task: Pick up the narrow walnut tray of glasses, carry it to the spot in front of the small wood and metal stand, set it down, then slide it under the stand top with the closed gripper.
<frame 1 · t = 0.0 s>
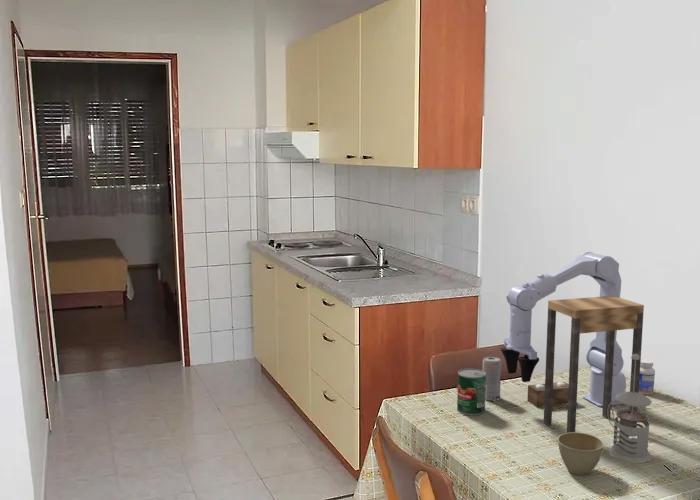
hand: (518, 377, 192), 10 cm above the table, tool pointing down, fingers open, 7 cm apart
pill bottle: (643, 392, 209), on the table
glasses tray: (550, 402, 201), on the table
flower pot: (579, 471, 158), on the table
canned tomato: (471, 410, 195), on the table
french press: (626, 452, 167), on the table
wood and metal stand: (589, 428, 181), on the table
energy drink: (490, 398, 204), on the table
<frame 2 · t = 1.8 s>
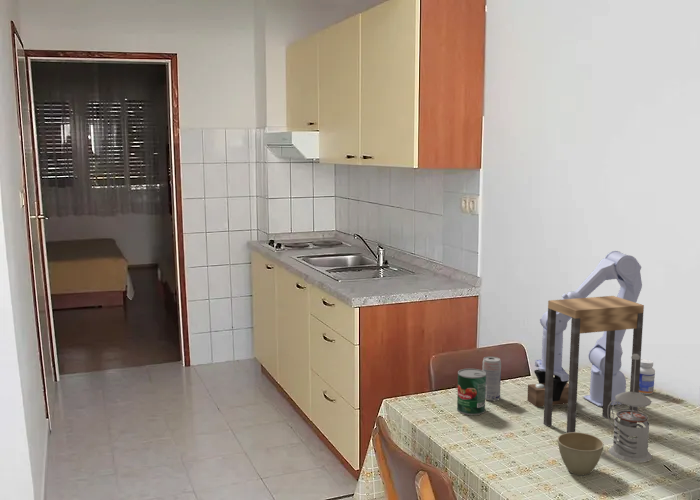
hand: (550, 397, 200), 1 cm above the table, tool pointing down, fingers closed on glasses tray, 5 cm apart
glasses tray: (550, 402, 201), on the table, touching gripper
everything else where it was.
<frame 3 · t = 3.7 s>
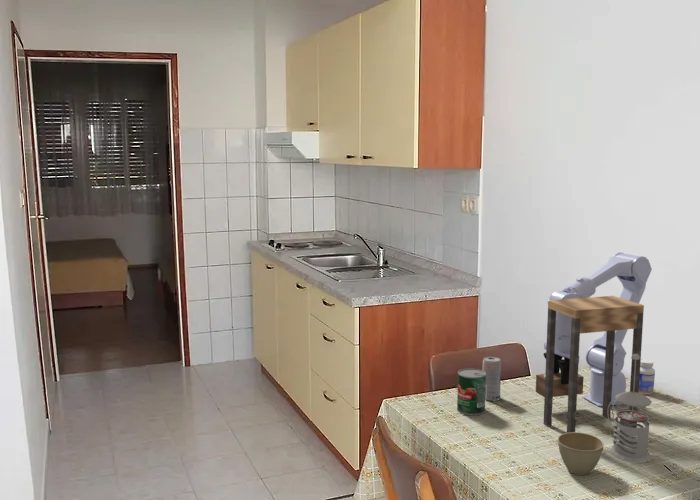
hand: (559, 380, 194), 8 cm above the table, tool pointing down, fingers closed on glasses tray, 5 cm apart
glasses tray: (559, 392, 194), point 5 cm above the table, touching gripper
everything else where it was.
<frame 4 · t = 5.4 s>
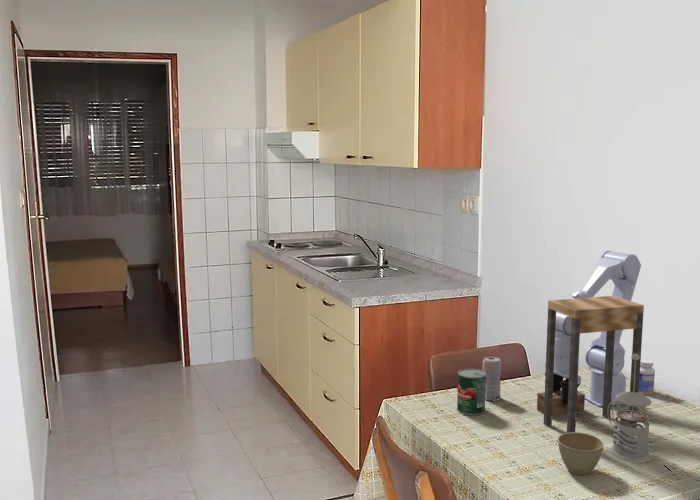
hand: (561, 400, 193), 3 cm above the table, tool pointing down, fingers closed on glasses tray, 5 cm apart
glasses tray: (560, 410, 194), on the table, touching gripper
everything else where it was.
when the fingers open (3 cm above the table, at t = 5.4 s): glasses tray stays where it is, on the table.
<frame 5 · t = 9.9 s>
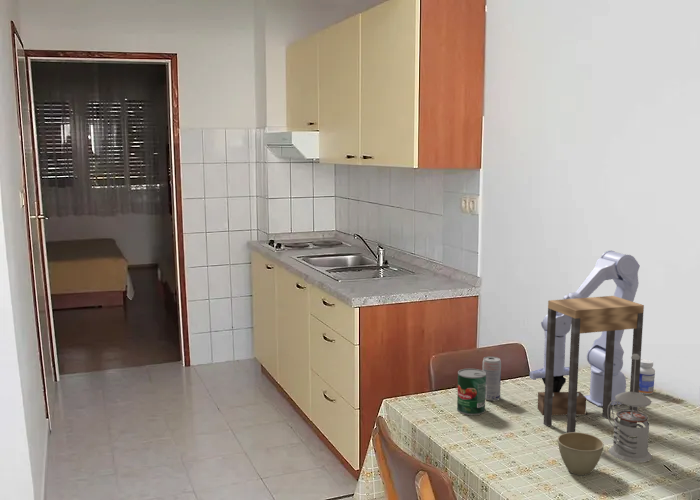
hand: (552, 400, 197), 1 cm above the table, tool pointing down, fingers closed
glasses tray: (561, 412, 193), on the table, touching gripper
everything else where it was.
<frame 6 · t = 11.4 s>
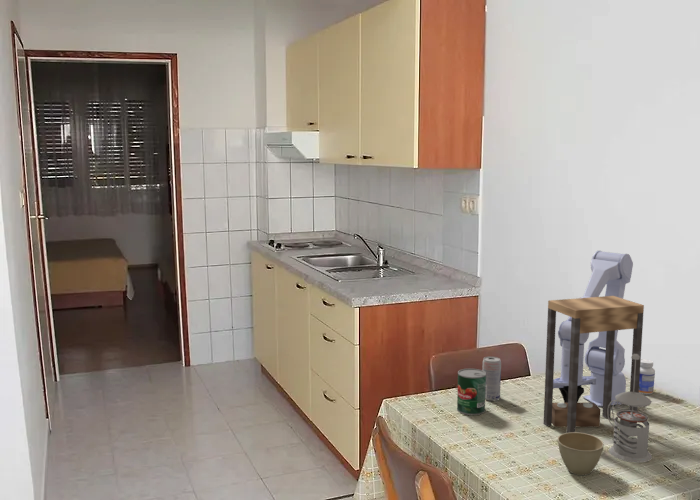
hand: (570, 411, 189), 1 cm above the table, tool pointing down, fingers closed
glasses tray: (574, 423, 185), on the table
everything else where it was.
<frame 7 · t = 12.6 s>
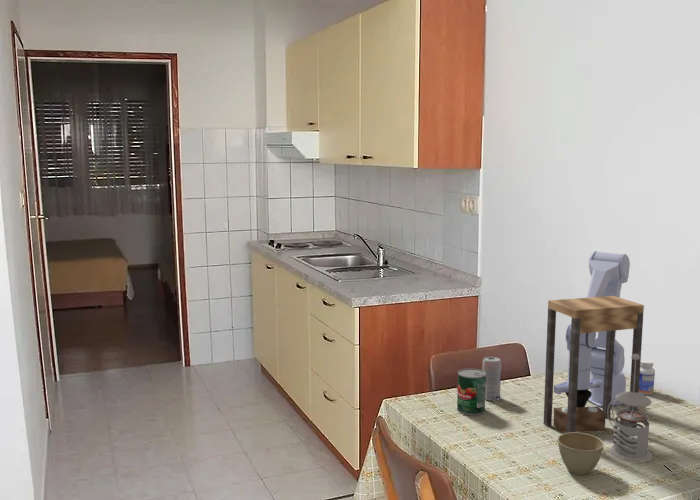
hand: (577, 415, 186), 1 cm above the table, tool pointing down, fingers closed
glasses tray: (578, 428, 182), on the table
everything else where it was.
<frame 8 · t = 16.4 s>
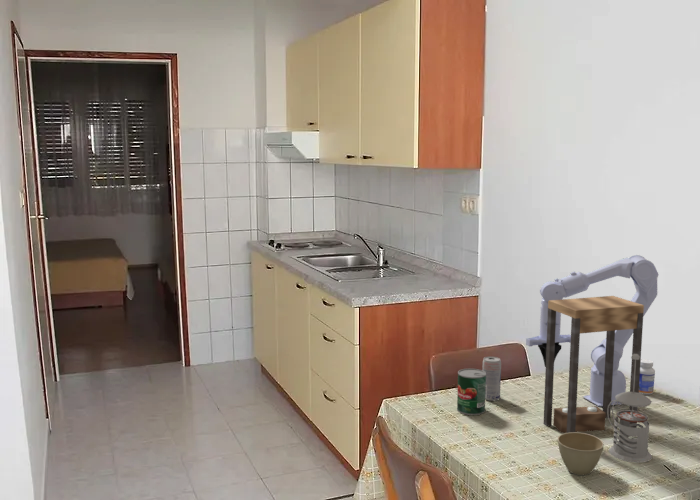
hand: (548, 367, 202), 9 cm above the table, tool pointing down, fingers closed
nothing on the table moved.
at the end: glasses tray inside the target area (2.6 cm from its centre), on the table; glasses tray tilted 0°; the gripper is holding nothing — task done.
